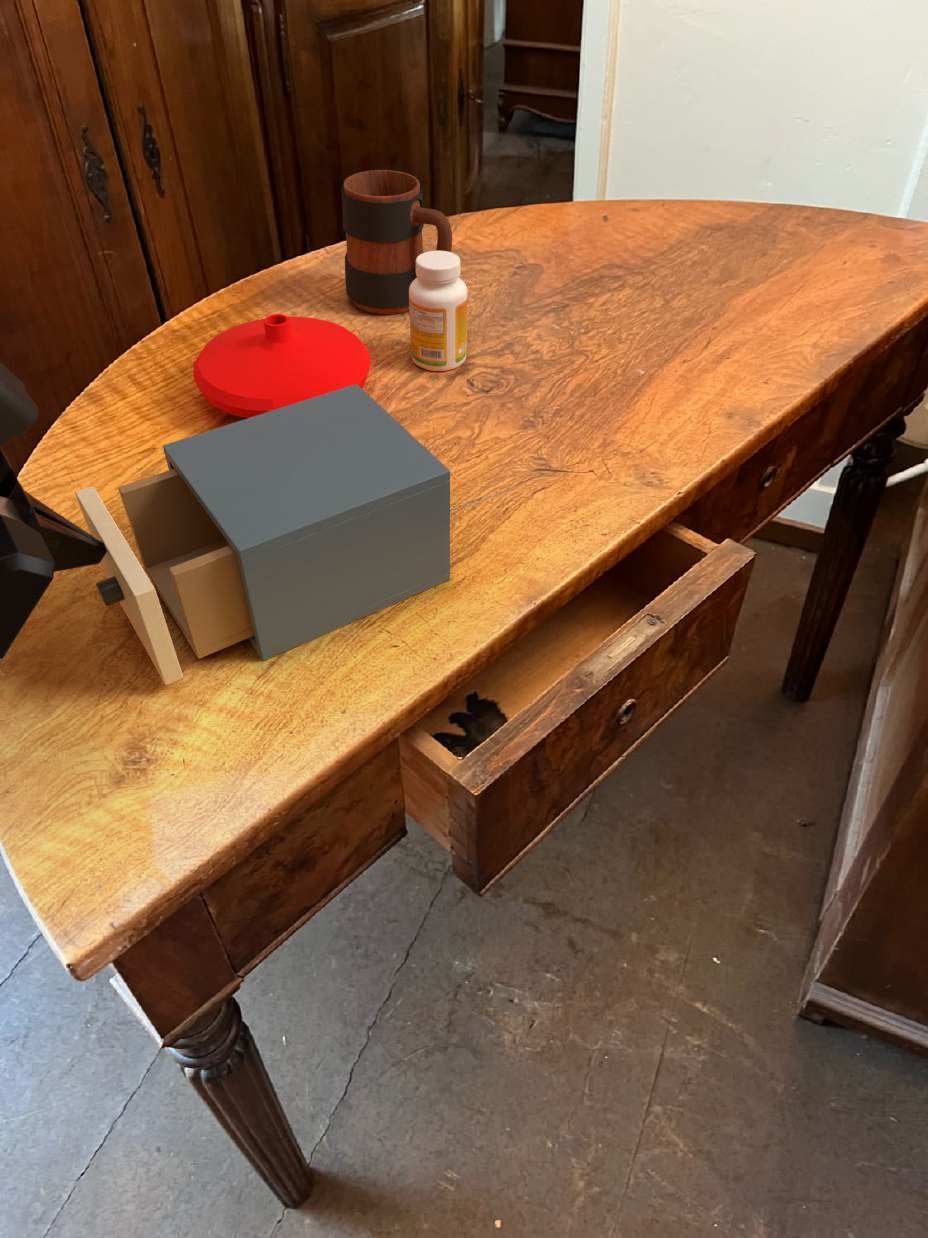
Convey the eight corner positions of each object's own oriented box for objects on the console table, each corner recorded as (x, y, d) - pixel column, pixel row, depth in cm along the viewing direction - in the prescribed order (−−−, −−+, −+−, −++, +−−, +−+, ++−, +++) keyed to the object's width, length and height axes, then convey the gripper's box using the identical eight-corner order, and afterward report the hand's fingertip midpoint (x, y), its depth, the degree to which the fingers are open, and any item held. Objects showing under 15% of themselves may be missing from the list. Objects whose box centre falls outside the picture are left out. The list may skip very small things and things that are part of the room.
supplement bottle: (451, 340, 89) (452, 242, 82) (476, 365, 85) (478, 265, 78) (402, 351, 87) (398, 252, 80) (425, 377, 84) (422, 276, 77)
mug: (431, 332, 90) (429, 213, 81) (331, 305, 94) (319, 189, 85) (469, 297, 95) (472, 182, 87) (373, 273, 99) (367, 161, 91)
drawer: (146, 694, 55) (113, 604, 50) (90, 587, 62) (55, 497, 56) (356, 604, 61) (346, 514, 55) (284, 515, 68) (269, 427, 62)
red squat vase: (273, 464, 74) (260, 388, 69) (164, 393, 81) (145, 320, 76) (408, 391, 82) (406, 318, 77) (298, 332, 89) (289, 263, 84)
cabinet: (263, 661, 58) (238, 550, 51) (191, 554, 66) (162, 445, 59) (450, 579, 64) (450, 470, 57) (365, 489, 71) (356, 383, 65)
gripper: (-77, 413, 35) (236, 531, 47) (-153, 243, 45) (118, 375, 58) (-199, 633, 37) (128, 690, 49) (-244, 422, 48) (34, 513, 60)
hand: (101, 553), depth 54 cm, fingers closed, pressing on drawer
